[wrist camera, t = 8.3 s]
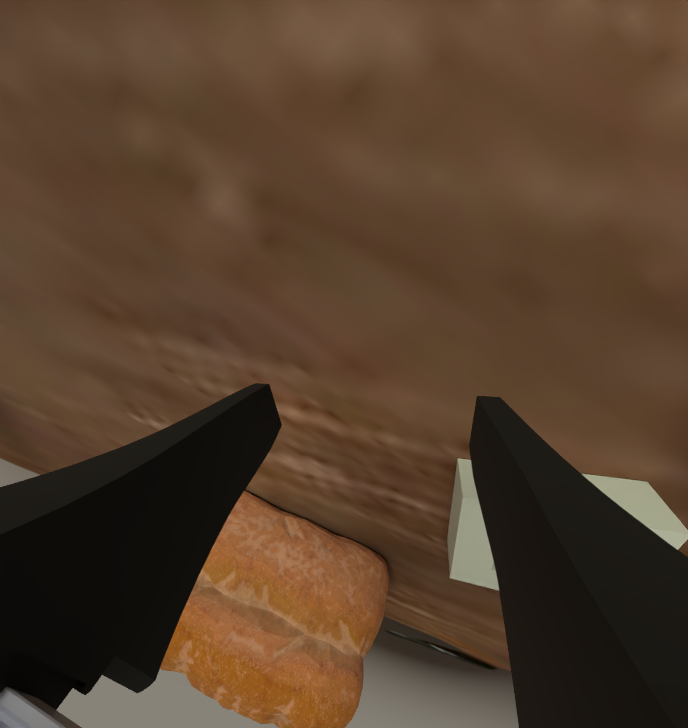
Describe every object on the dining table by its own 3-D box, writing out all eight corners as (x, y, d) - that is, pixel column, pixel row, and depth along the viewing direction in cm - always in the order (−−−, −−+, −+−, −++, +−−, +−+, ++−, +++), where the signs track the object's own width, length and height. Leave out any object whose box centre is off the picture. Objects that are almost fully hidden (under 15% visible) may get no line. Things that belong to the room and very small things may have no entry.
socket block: (647, 481, 17) (691, 534, 15) (588, 568, 23) (612, 619, 20) (457, 458, 21) (462, 497, 18) (447, 538, 27) (449, 578, 24)
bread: (367, 589, 38) (338, 773, 26) (213, 516, 40) (117, 653, 28) (402, 554, 31) (387, 790, 18) (212, 468, 33) (80, 624, 20)
